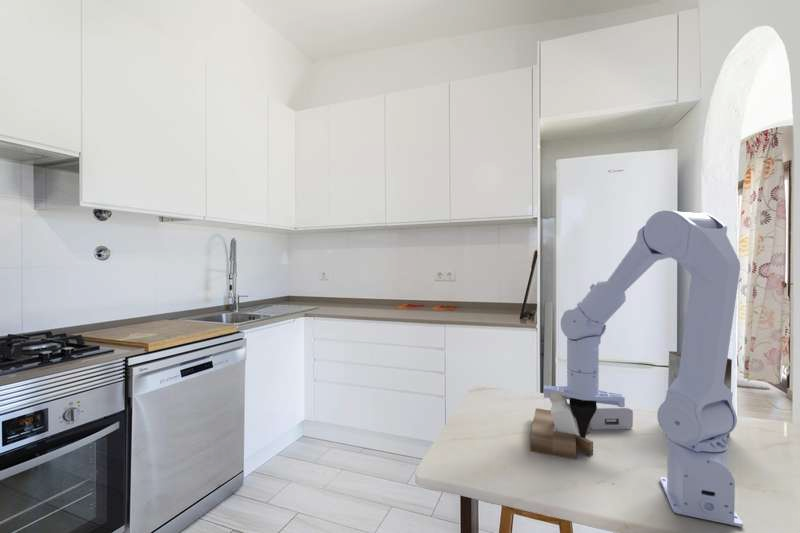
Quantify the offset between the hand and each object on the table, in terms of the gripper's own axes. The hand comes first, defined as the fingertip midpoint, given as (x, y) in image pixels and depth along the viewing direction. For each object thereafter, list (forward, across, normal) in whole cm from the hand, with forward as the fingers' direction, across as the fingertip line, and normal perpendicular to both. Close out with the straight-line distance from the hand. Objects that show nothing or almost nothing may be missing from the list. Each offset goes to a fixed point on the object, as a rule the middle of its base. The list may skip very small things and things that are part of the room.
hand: (582, 436), depth 78 cm
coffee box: (+1, -23, -16) cm, 28 cm away
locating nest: (+1, +4, 0) cm, 4 cm away
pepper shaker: (+1, +2, 0) cm, 2 cm away
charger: (+2, -3, -16) cm, 16 cm away
